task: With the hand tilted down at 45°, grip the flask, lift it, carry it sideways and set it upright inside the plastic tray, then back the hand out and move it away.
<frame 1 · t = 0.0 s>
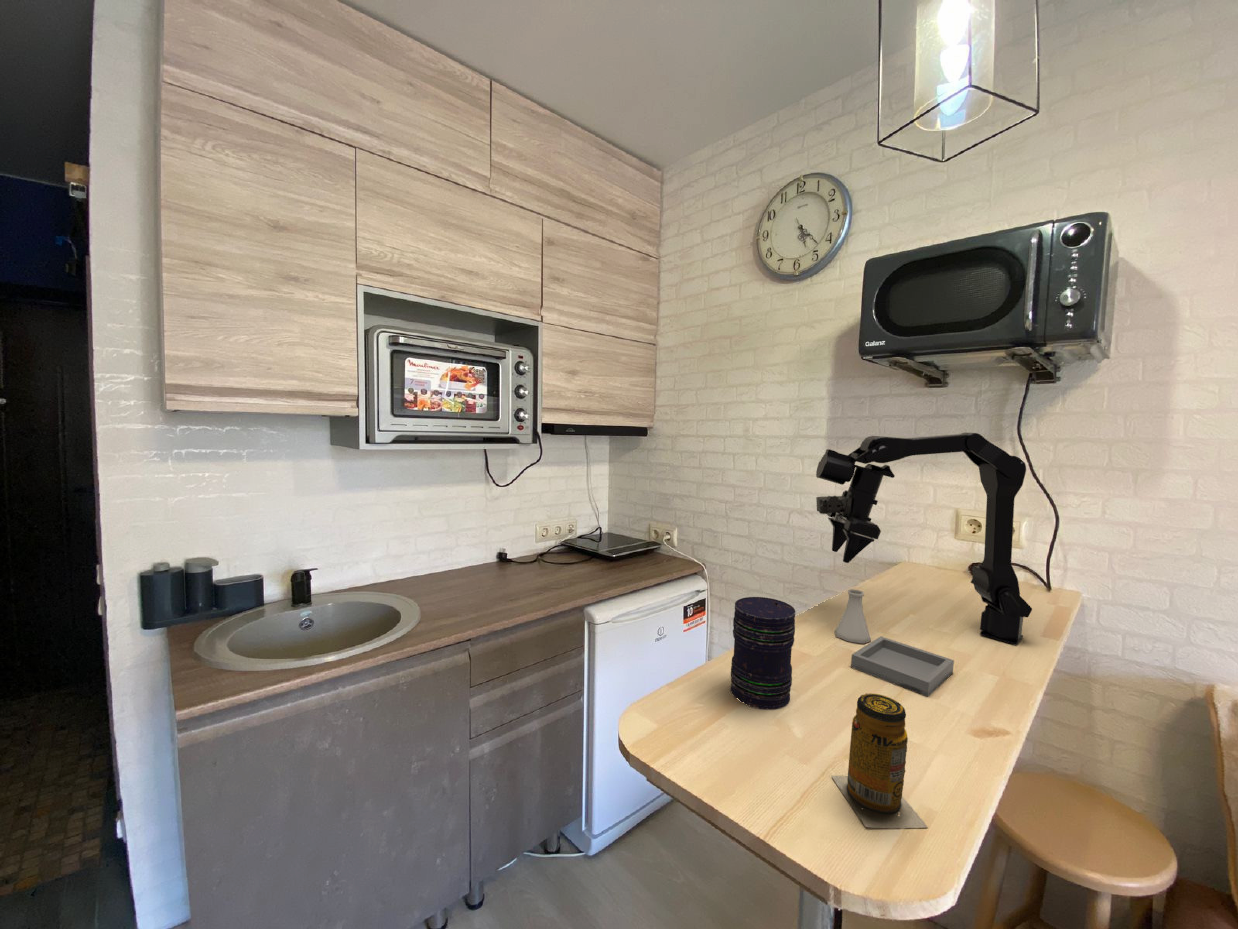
hand: (839, 556, 116), 15 cm above the table, tool pointing down, fingers open, 9 cm apart
flask: (852, 638, 110), on the table
tray: (901, 670, 96), on the table
storage jar: (759, 694, 86), on the table
condiment: (876, 803, 62), on the table
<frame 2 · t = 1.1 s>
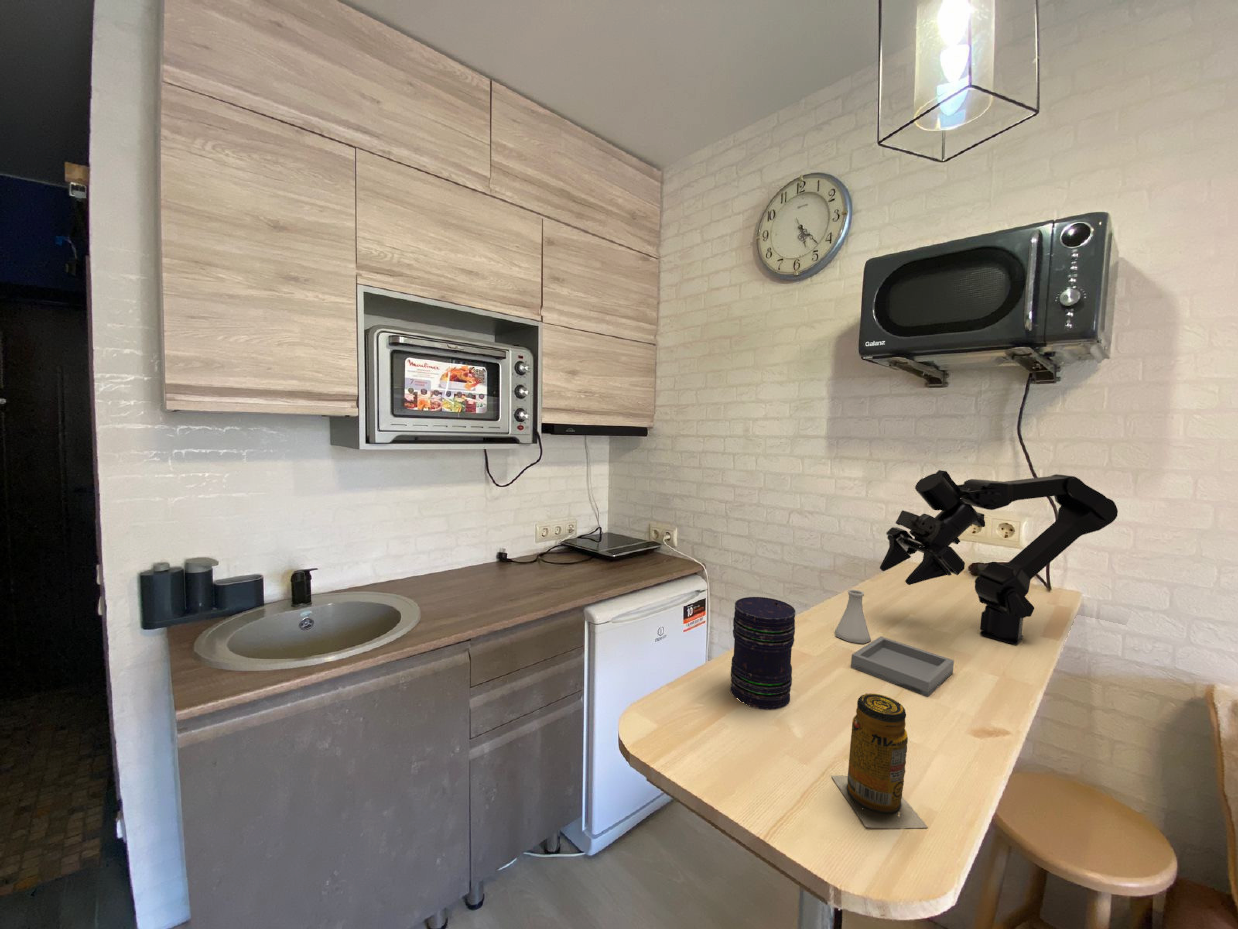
hand: (893, 576, 109), 13 cm above the table, tool tilted 45°, fingers open, 9 cm apart
nothing on the table moved.
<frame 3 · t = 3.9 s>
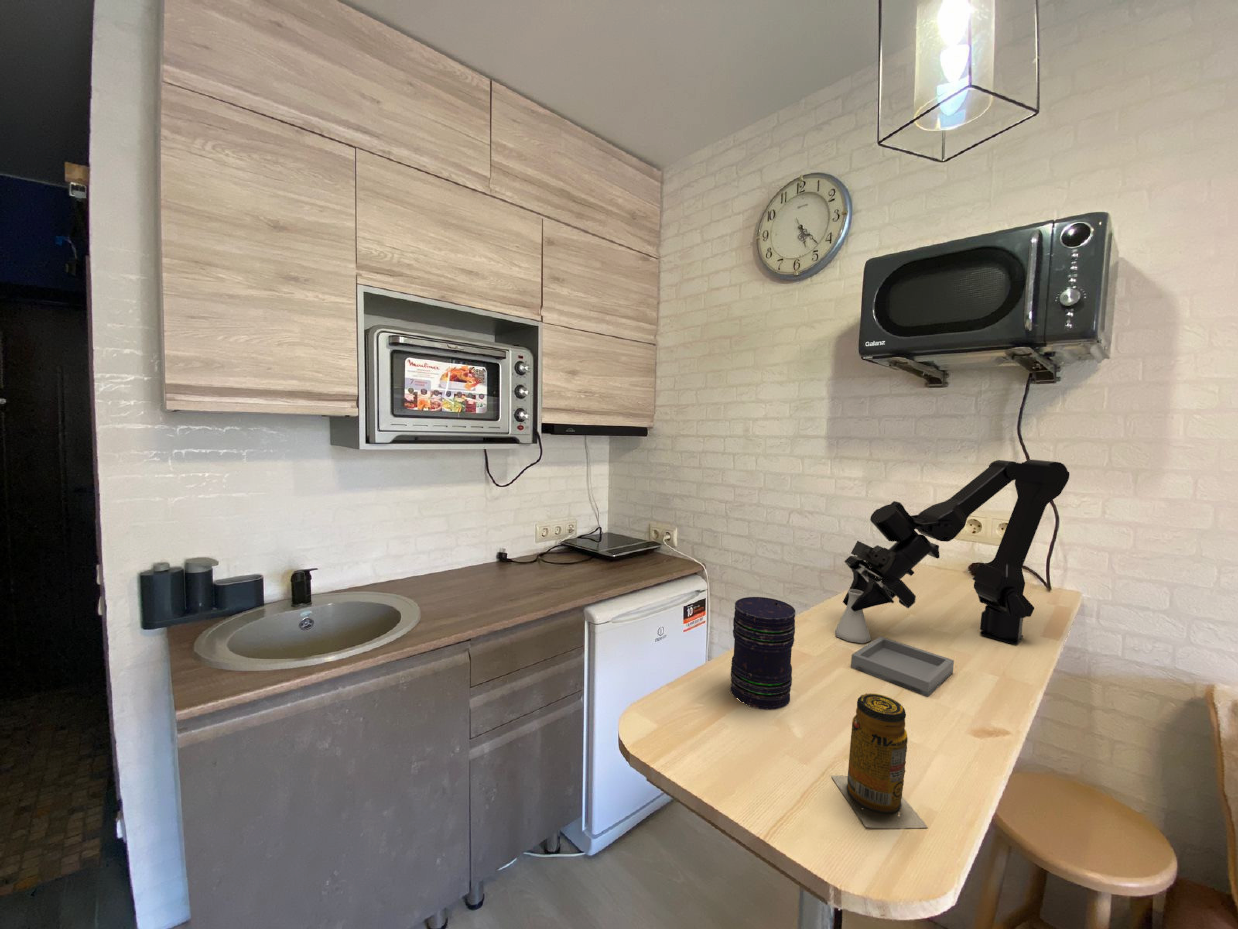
hand: (848, 606, 109), 7 cm above the table, tool tilted 45°, fingers closed on flask, 3 cm apart
flask: (852, 637, 110), on the table, touching gripper
everything else where it was.
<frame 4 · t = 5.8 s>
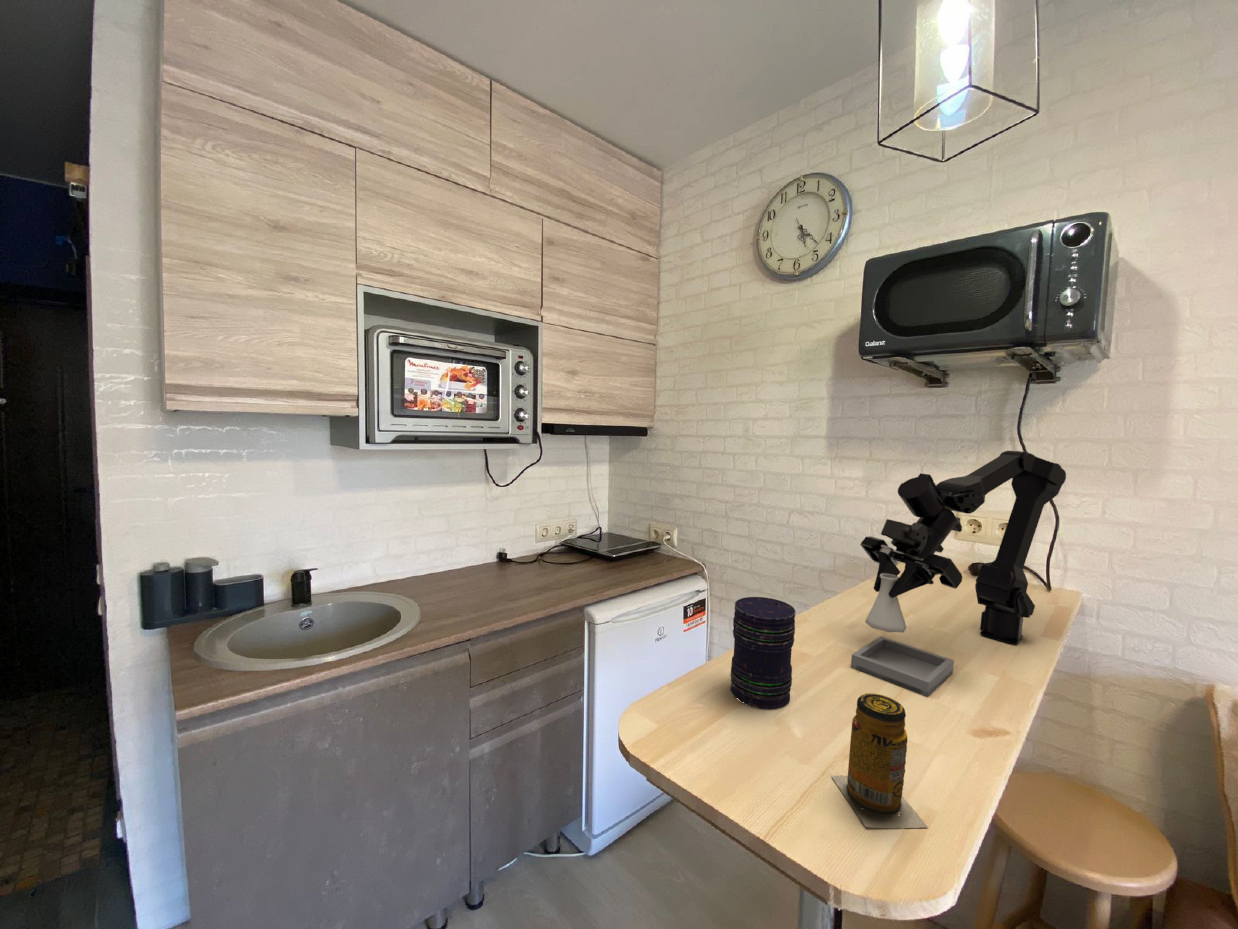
hand: (882, 593, 98), 13 cm above the table, tool tilted 45°, fingers closed on flask, 3 cm apart
flask: (885, 627, 99), point 6 cm above the table, touching gripper
everything else where it was.
when the fingers open (8 cm above the table, at t = 7.5 s): flask stays where it is, resting on tray.
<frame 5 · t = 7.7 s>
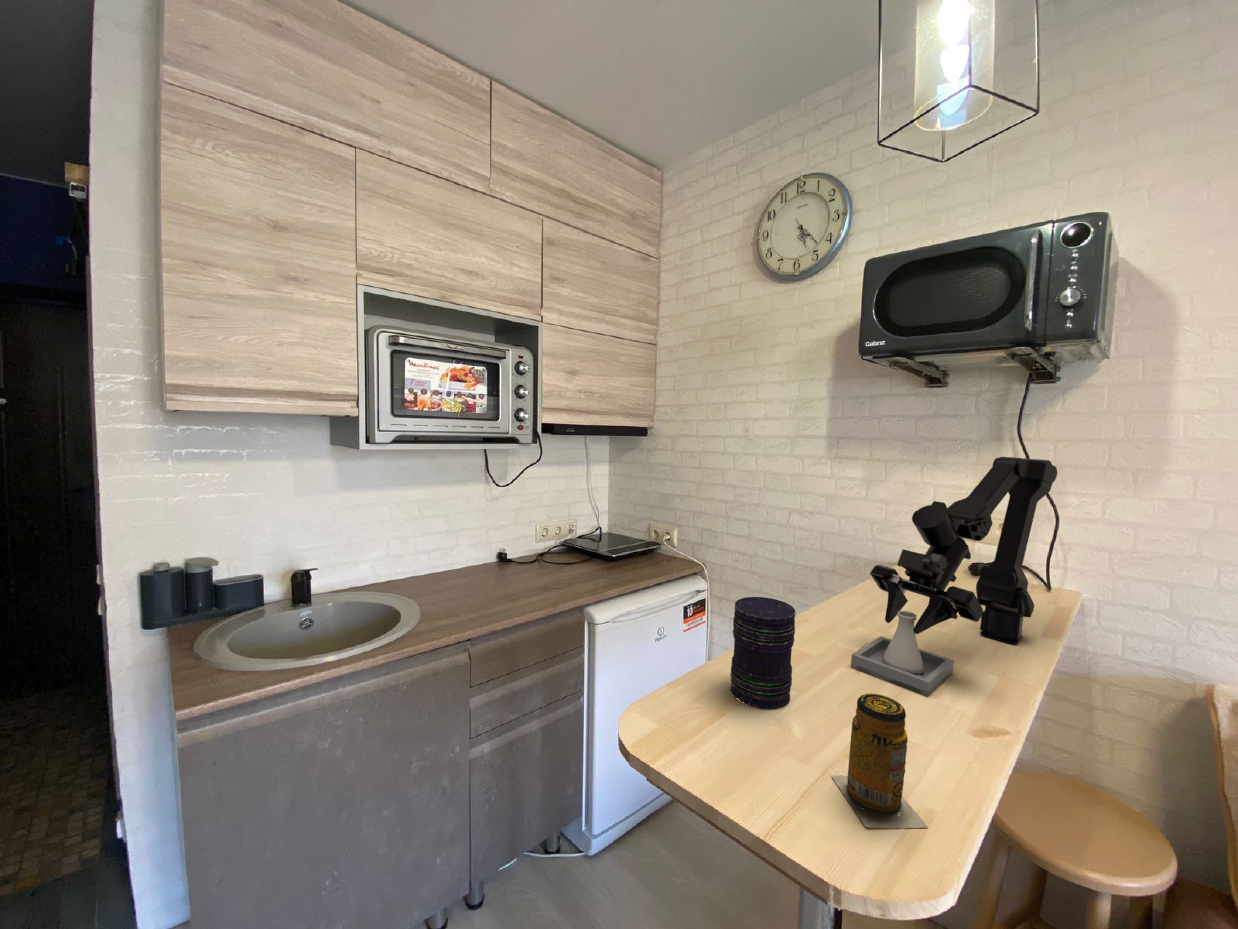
hand: (900, 627, 94), 9 cm above the table, tool tilted 45°, fingers open, 5 cm apart
flask: (902, 667, 96), point 1 cm above the table, touching tray
everything else where it was.
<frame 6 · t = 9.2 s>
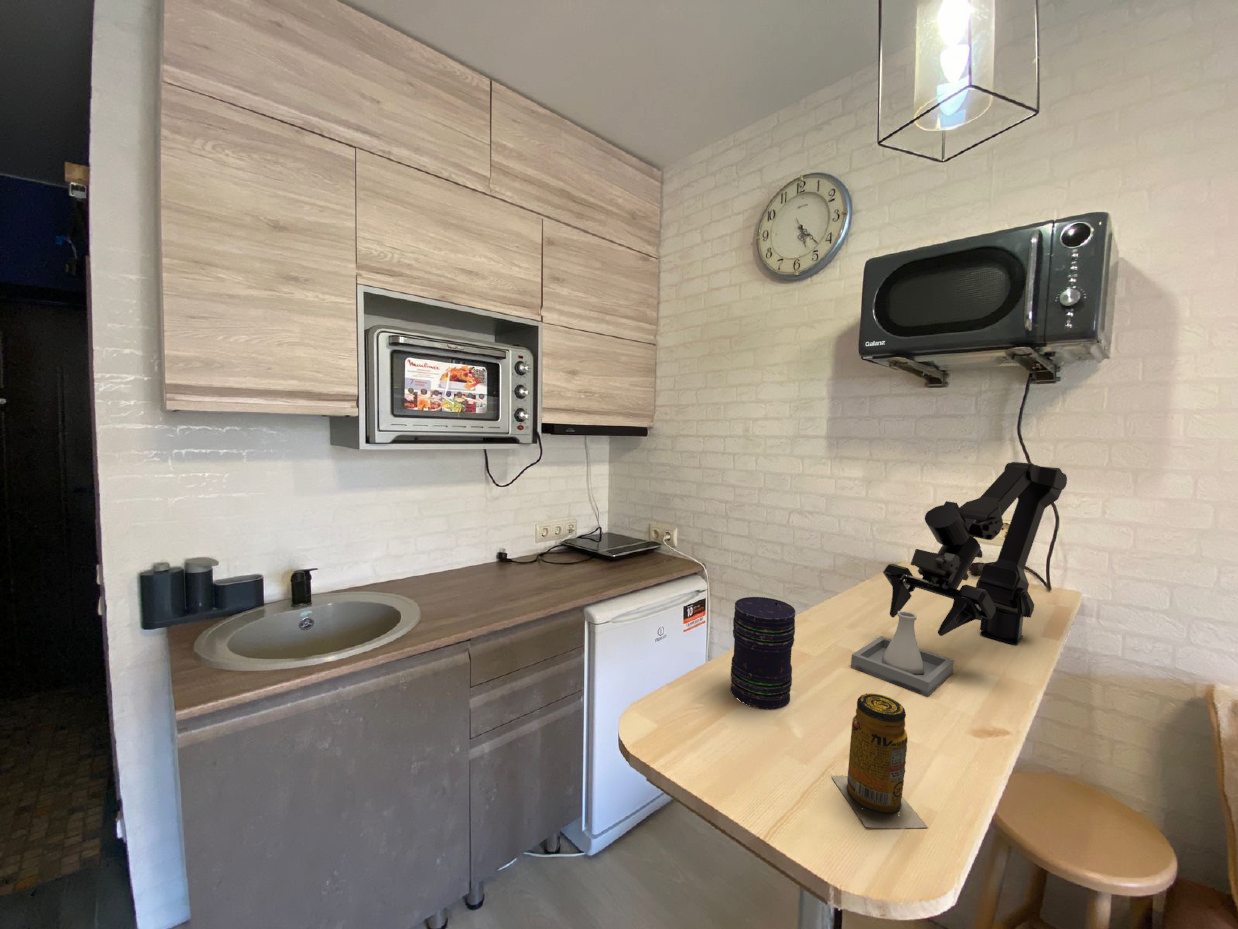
hand: (914, 625, 96), 8 cm above the table, tool tilted 45°, fingers open, 9 cm apart
nothing on the table moved.
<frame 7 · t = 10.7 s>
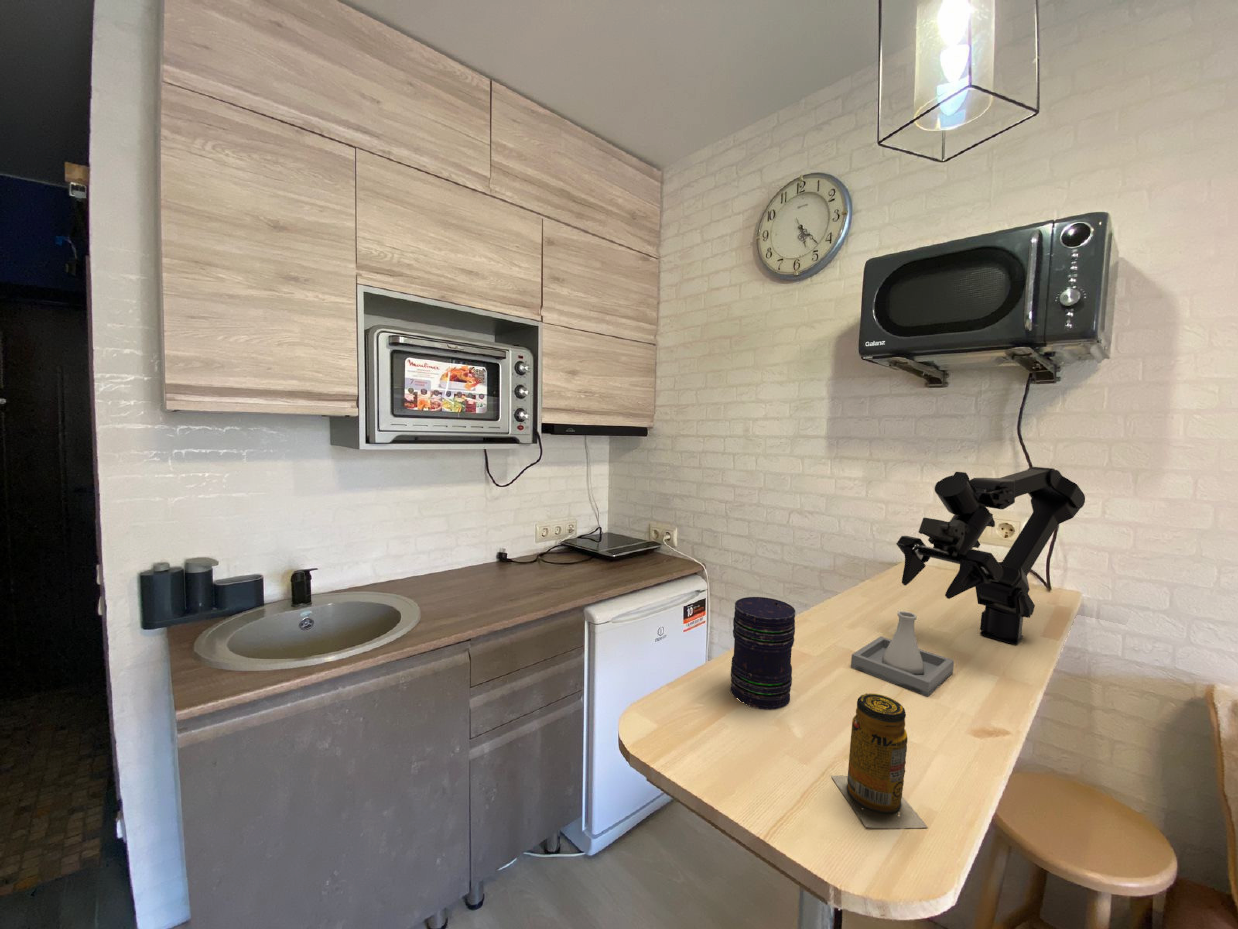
hand: (924, 590, 100), 13 cm above the table, tool tilted 45°, fingers open, 9 cm apart
nothing on the table moved.
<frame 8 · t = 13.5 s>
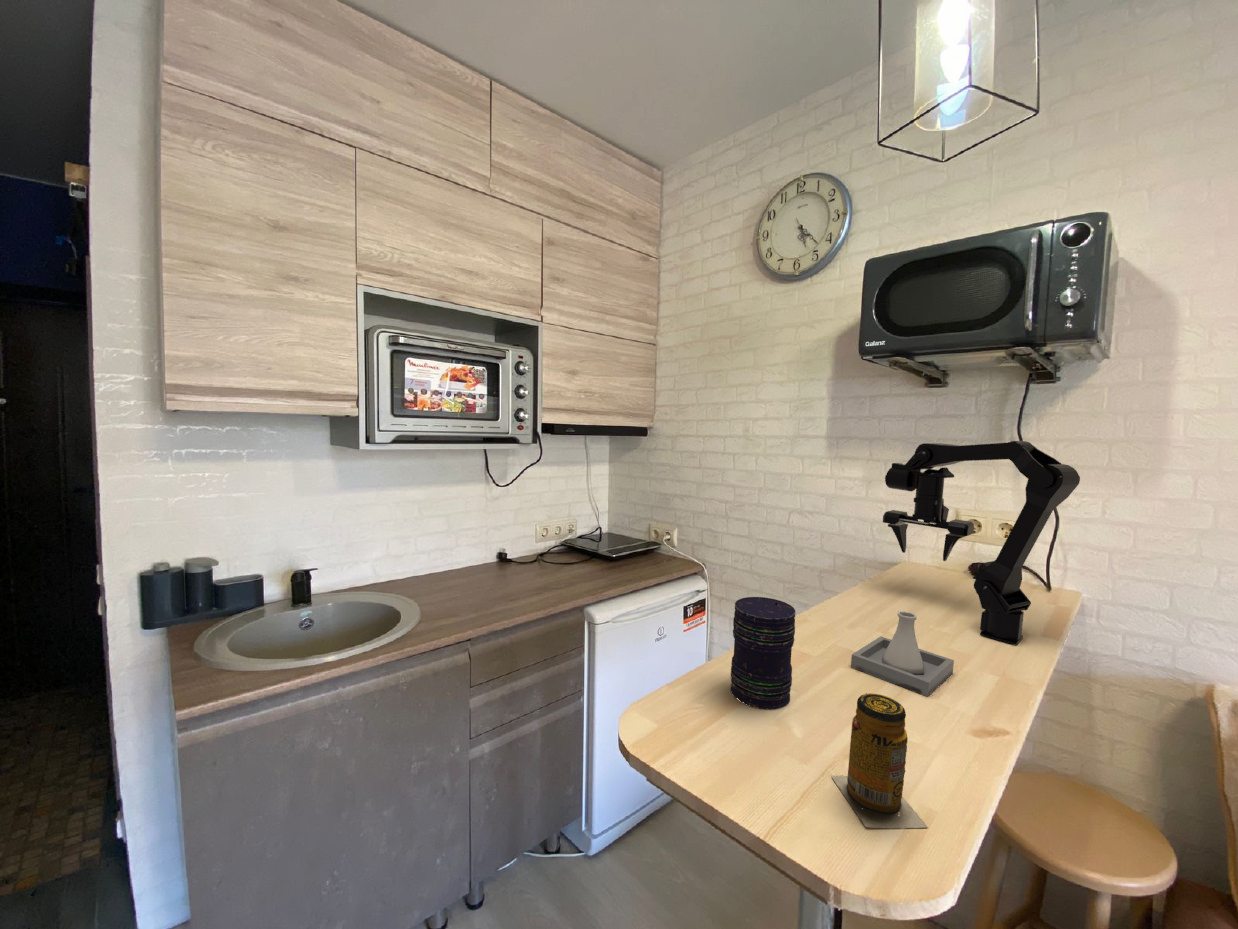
hand: (923, 556, 128), 13 cm above the table, tool pointing down, fingers open, 9 cm apart
nothing on the table moved.
at the end: flask 0.2 cm off-centre on the tray, point 0.6 cm above the tray's base; flask tilted 0°; the gripper is holding nothing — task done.
